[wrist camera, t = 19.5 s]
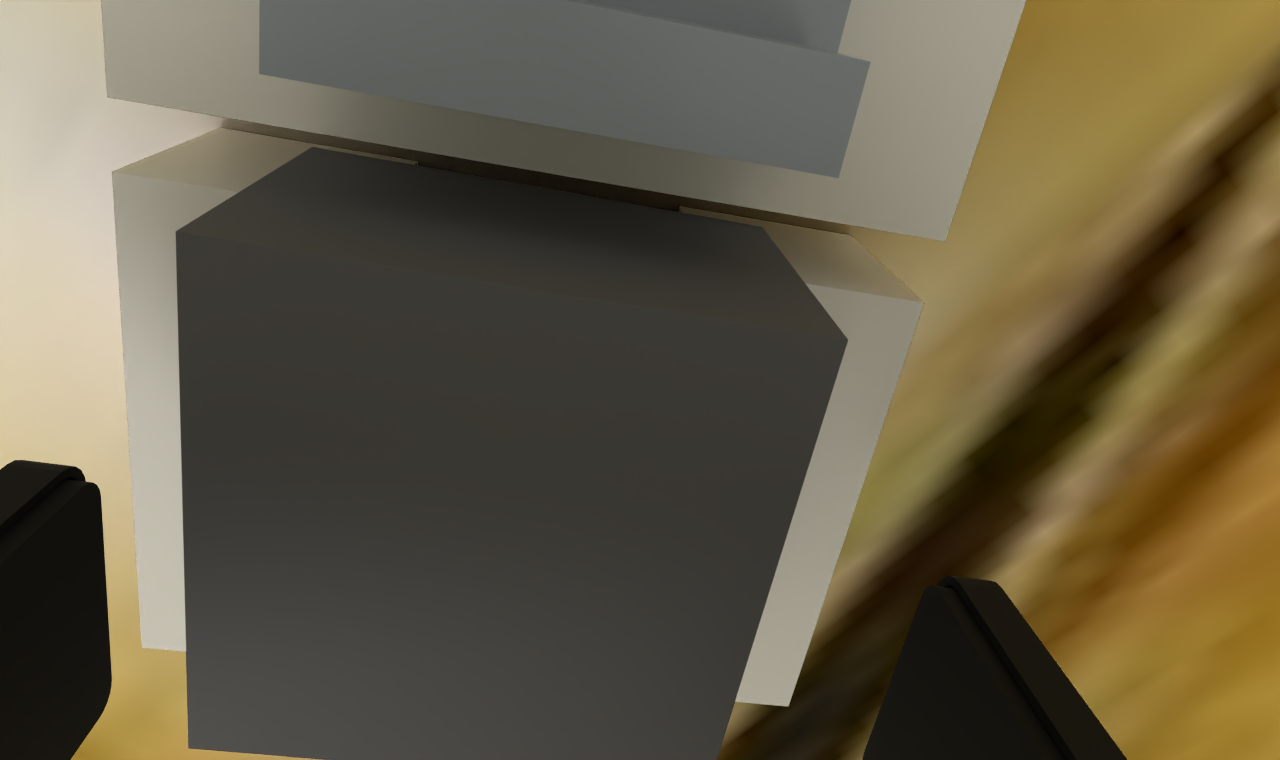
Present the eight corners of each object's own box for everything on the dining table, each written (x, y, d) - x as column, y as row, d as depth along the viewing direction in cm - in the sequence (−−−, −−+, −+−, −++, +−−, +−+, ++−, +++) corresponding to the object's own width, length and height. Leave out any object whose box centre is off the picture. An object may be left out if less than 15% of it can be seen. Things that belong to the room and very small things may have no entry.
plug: (658, 488, 18) (707, 790, 11) (340, 447, 17) (187, 748, 10) (729, 184, 16) (848, 340, 9) (360, 116, 15) (175, 231, 8)
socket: (751, 579, 21) (788, 706, 17) (225, 520, 19) (141, 647, 15) (1022, -356, 13) (1188, -482, 10) (212, -581, 12) (49, -833, 8)
